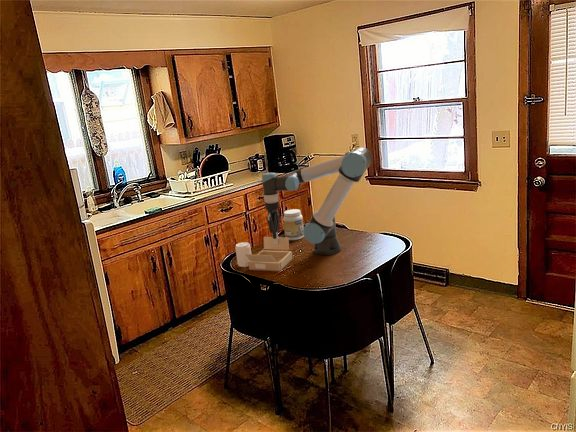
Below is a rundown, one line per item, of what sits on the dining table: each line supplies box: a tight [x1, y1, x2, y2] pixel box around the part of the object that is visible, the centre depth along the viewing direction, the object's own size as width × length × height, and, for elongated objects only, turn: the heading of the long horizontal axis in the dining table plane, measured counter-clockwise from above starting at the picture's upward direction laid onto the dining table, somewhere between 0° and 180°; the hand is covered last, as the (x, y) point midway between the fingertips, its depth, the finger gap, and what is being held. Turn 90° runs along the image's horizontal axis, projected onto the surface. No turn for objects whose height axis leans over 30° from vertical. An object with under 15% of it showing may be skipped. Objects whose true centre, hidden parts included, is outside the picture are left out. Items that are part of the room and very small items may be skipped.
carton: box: [248, 249, 294, 273], centre depth 249 cm, size 19×17×4 cm
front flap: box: [245, 253, 276, 262], centre depth 238 cm, size 15×7×1 cm
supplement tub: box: [282, 208, 305, 241], centre depth 287 cm, size 12×12×17 cm
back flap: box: [263, 236, 290, 251], centre depth 255 cm, size 15×7×1 cm
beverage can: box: [234, 241, 252, 268], centre depth 252 cm, size 8×8×12 cm
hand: (276, 243), depth 254 cm, fingers closed
